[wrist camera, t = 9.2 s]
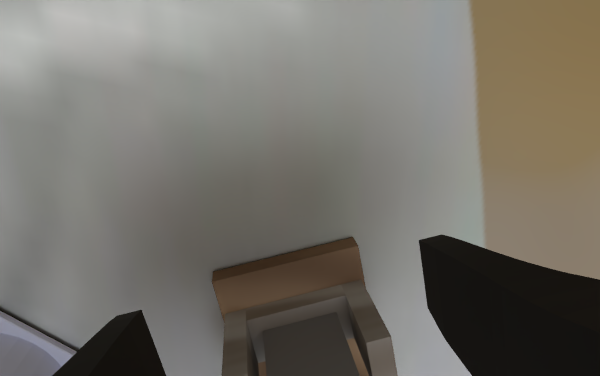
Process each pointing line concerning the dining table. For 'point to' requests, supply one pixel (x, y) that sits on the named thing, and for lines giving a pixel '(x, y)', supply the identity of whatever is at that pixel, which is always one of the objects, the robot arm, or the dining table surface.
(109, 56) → the dining table surface
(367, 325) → the cradle
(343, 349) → the grey rectangular block
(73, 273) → the dining table surface
